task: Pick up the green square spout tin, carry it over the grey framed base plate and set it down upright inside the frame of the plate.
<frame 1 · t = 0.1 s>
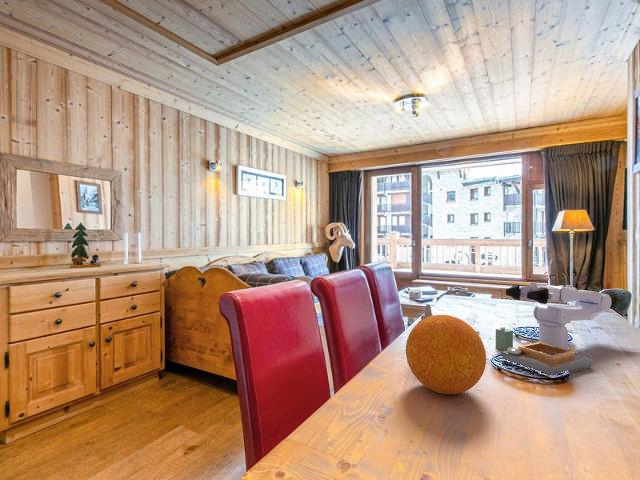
hand: (517, 293, 117), 22 cm above the table, tool horizontal, fingers open, 7 cm apart
squeeze bottle: (427, 357, 115), on the table
supplement bottle: (472, 354, 119), on the table
decorative sphere: (444, 391, 90), on the table
spout tin: (504, 348, 125), on the table
grey framed base plate: (545, 364, 109), on the table
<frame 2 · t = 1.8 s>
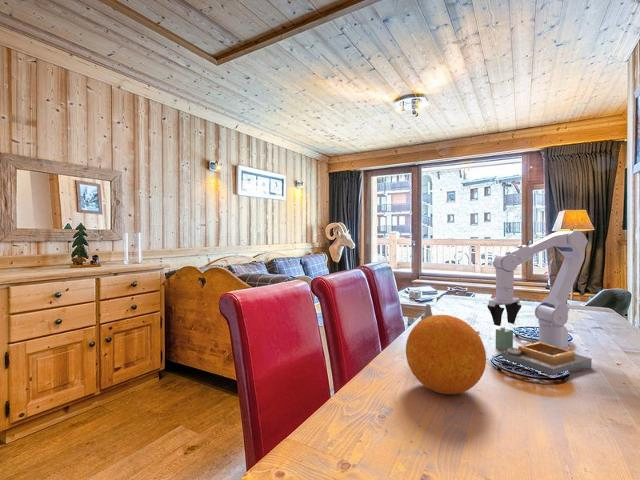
hand: (504, 324, 124), 9 cm above the table, tool pointing down, fingers open, 7 cm apart
nothing on the table moved.
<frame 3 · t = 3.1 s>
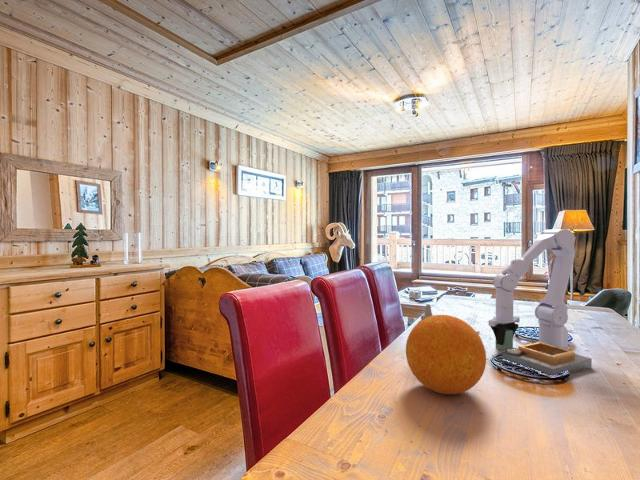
hand: (504, 343, 125), 2 cm above the table, tool pointing down, fingers closed on spout tin, 4 cm apart
spout tin: (504, 348, 125), on the table, touching gripper
everything else where it was.
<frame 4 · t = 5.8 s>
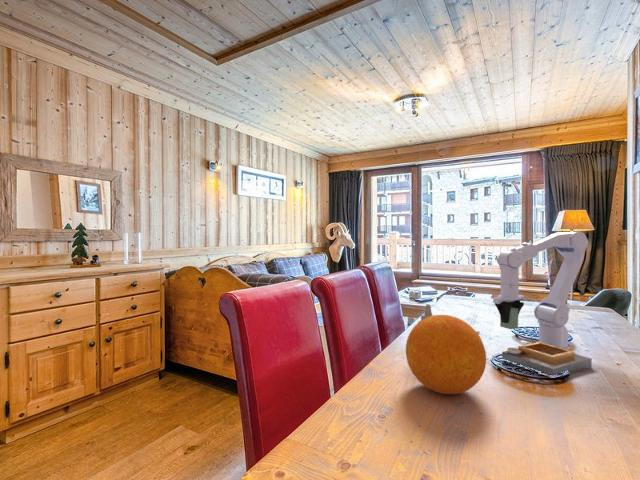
hand: (509, 321, 122), 10 cm above the table, tool pointing down, fingers closed on spout tin, 4 cm apart
spout tin: (509, 327, 123), point 8 cm above the table, touching gripper
everything else where it was.
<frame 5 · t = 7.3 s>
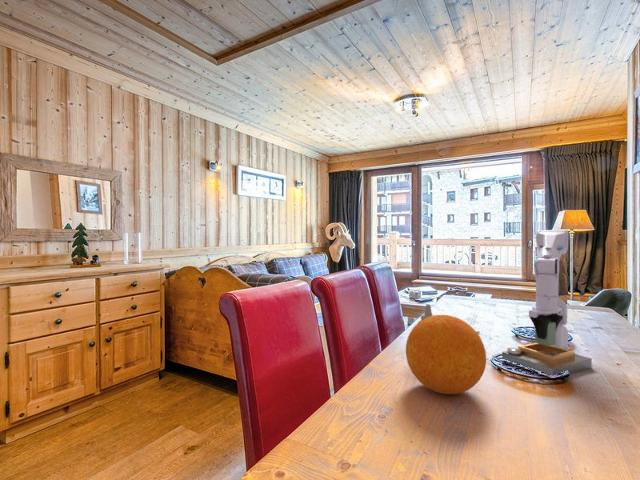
hand: (545, 337, 109), 9 cm above the table, tool pointing down, fingers closed on spout tin, 4 cm apart
spout tin: (545, 343, 109), point 7 cm above the table, touching gripper
everything else where it was.
when the fingers open (6 cm above the table, at t = 8.6 s): spout tin stays where it is, resting on grey framed base plate.
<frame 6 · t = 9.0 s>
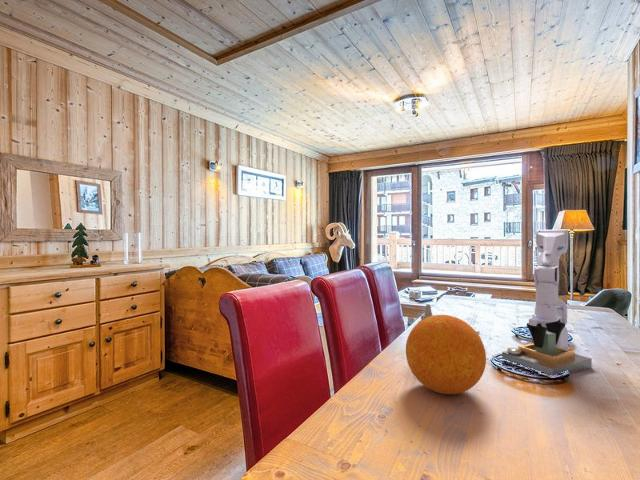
hand: (545, 345, 109), 6 cm above the table, tool pointing down, fingers open, 7 cm apart
spout tin: (545, 354, 109), point 3 cm above the table, touching grey framed base plate
everything else where it was.
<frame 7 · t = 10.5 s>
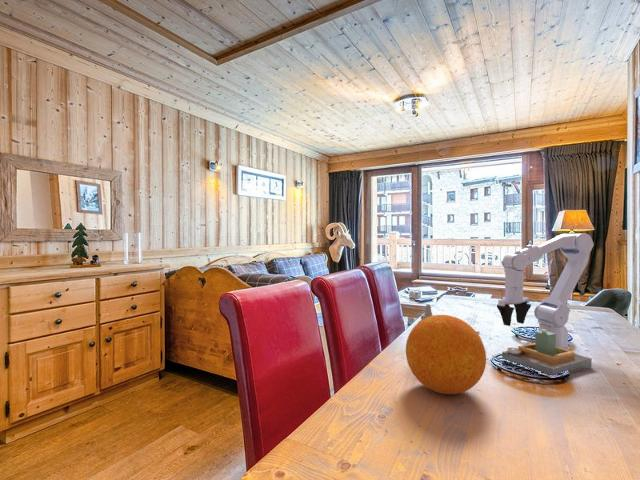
hand: (513, 324, 123), 9 cm above the table, tool pointing down, fingers open, 7 cm apart
nothing on the table moved.
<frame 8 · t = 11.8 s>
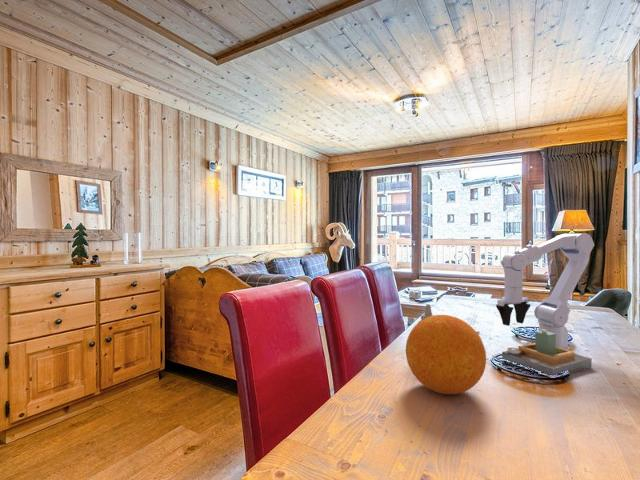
hand: (513, 323, 123), 9 cm above the table, tool pointing down, fingers open, 7 cm apart
nothing on the table moved.
at the end: spout tin 0.1 cm off-centre on the grey framed base plate, point 3.2 cm above the grey framed base plate's base; spout tin tilted 0°; the gripper is holding nothing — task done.
